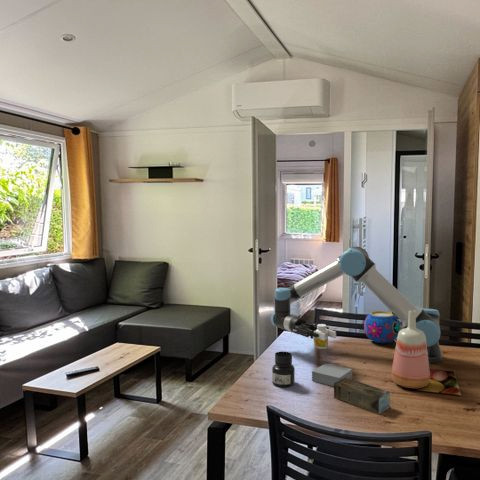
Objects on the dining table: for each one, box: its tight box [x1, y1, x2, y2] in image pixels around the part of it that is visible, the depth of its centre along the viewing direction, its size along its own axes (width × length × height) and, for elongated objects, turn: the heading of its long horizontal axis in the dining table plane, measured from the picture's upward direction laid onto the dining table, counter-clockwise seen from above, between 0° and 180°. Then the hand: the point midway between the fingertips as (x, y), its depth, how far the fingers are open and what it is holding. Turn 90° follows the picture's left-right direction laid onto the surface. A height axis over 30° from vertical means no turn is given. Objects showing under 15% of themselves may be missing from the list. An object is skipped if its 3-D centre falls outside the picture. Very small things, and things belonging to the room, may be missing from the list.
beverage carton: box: [333, 377, 391, 415], centre depth 171 cm, size 8×19×7 cm, turn 43°
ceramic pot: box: [363, 310, 401, 345], centre depth 243 cm, size 18×18×15 cm
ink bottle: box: [271, 350, 296, 388], centre depth 189 cm, size 10×9×12 cm
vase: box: [390, 310, 431, 389], centre depth 186 cm, size 14×14×30 cm
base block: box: [311, 363, 353, 387], centre depth 193 cm, size 12×12×4 cm
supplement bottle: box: [315, 323, 329, 350], centre depth 206 cm, size 5×5×10 cm
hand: (330, 336), depth 201 cm, fingers closed on supplement bottle, 5 cm apart
